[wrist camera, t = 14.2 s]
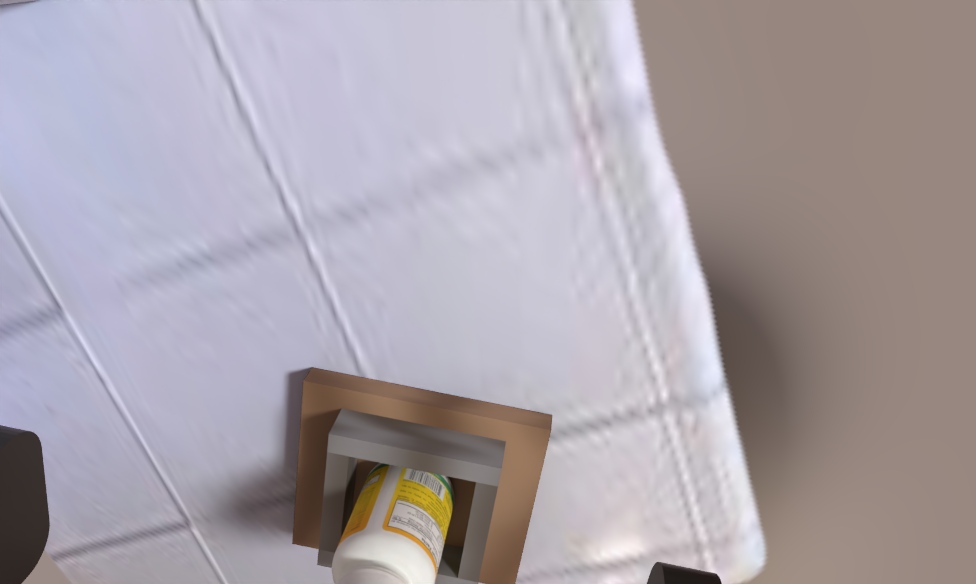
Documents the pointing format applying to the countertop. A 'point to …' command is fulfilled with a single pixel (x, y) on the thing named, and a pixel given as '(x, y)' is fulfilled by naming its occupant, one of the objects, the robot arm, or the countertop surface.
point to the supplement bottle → (395, 528)
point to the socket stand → (420, 466)
